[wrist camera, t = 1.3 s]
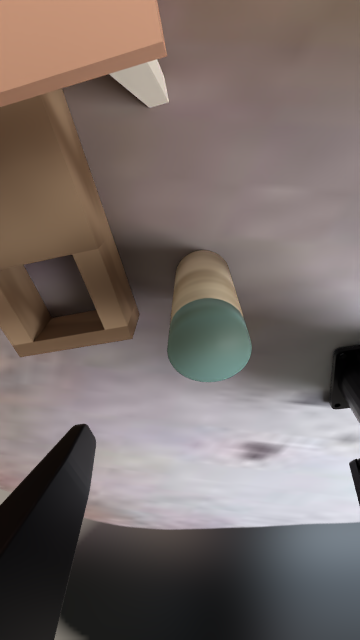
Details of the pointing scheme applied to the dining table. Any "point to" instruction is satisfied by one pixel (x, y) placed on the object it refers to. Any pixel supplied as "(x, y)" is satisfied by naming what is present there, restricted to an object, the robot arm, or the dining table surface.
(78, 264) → the socket block
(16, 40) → the footed pink board
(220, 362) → the peg
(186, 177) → the dining table surface
